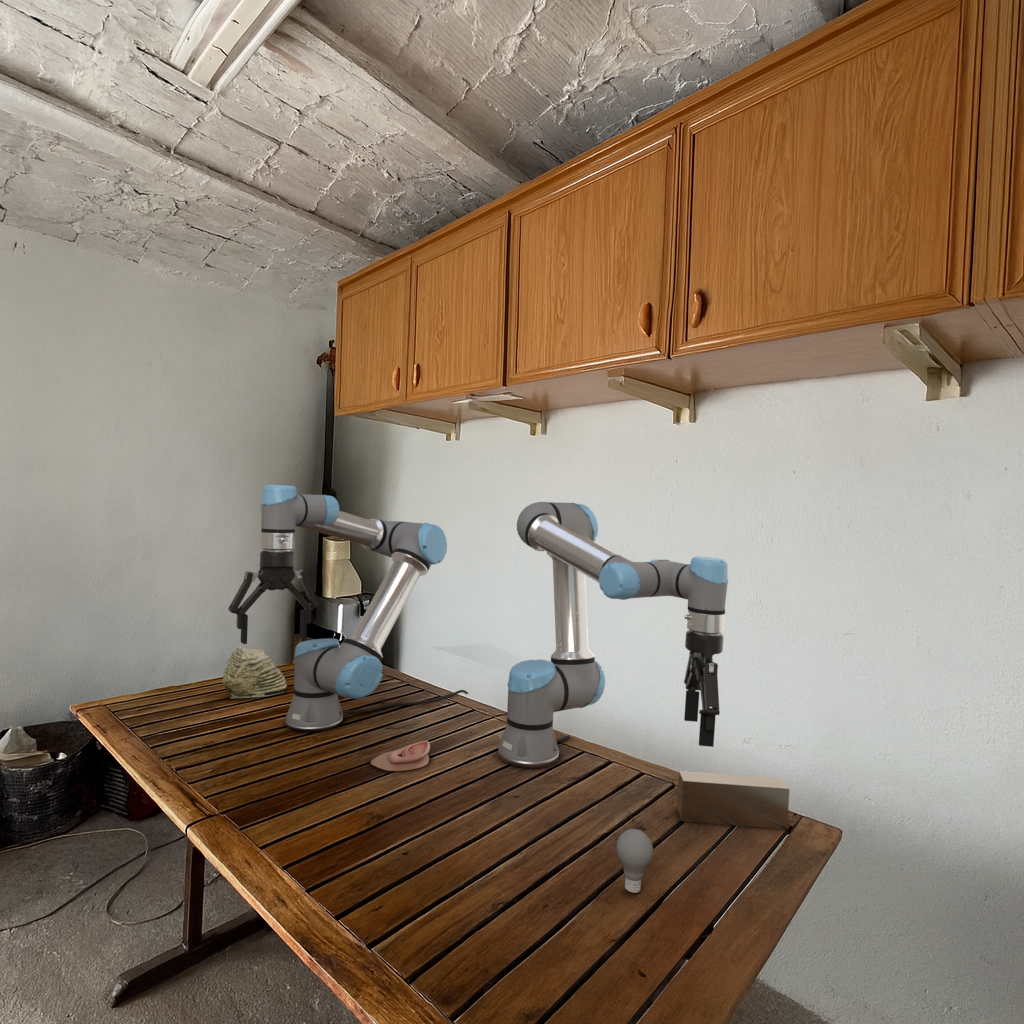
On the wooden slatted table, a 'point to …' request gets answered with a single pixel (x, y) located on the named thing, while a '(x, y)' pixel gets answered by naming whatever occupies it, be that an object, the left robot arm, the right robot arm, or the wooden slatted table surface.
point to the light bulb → (634, 857)
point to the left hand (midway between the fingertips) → (274, 640)
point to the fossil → (252, 674)
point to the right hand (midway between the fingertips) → (698, 732)
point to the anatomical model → (404, 757)
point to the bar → (733, 800)
